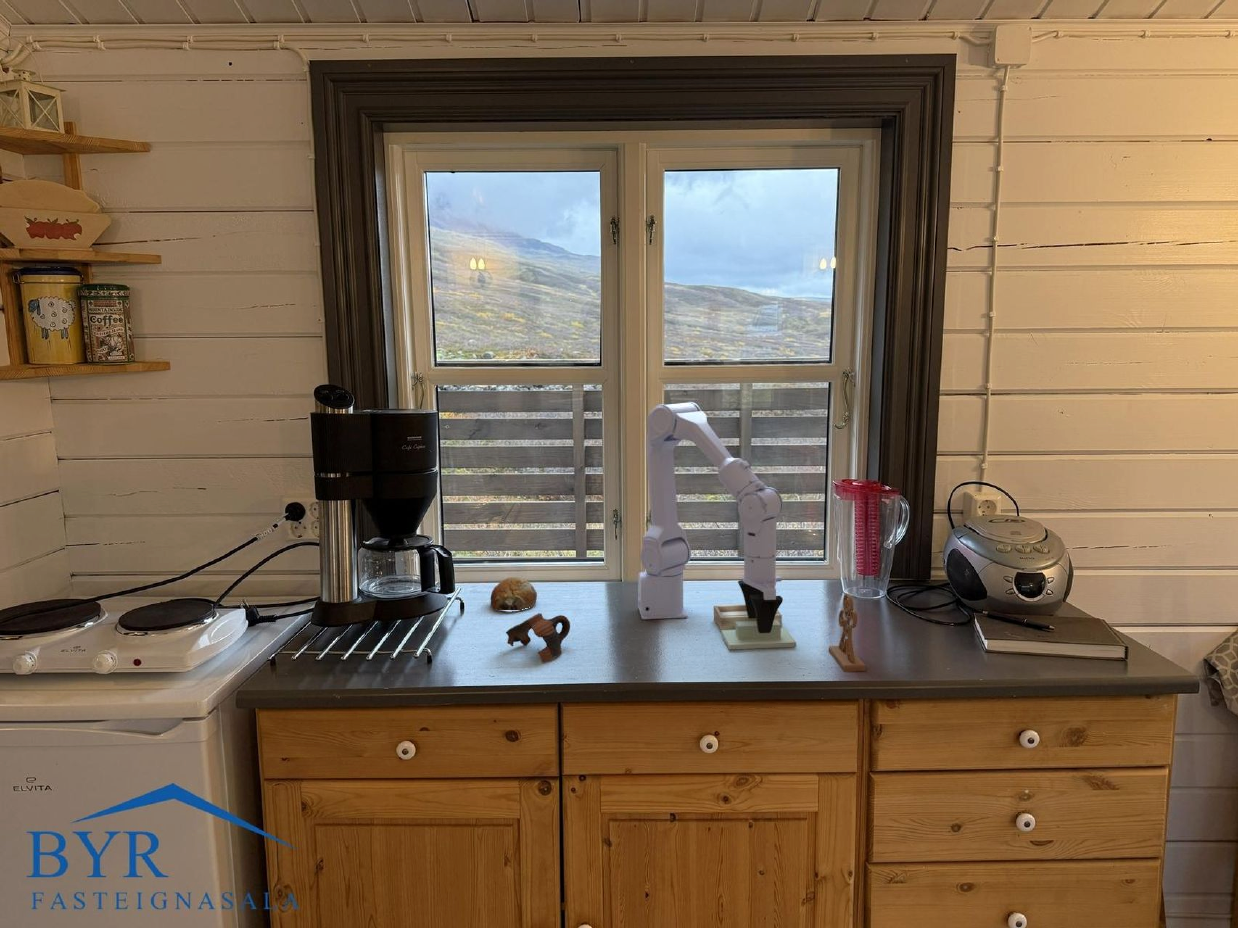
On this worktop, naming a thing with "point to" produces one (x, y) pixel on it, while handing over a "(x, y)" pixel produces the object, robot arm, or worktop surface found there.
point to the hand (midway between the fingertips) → (759, 624)
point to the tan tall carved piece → (847, 640)
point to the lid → (757, 636)
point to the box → (734, 616)
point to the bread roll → (513, 594)
